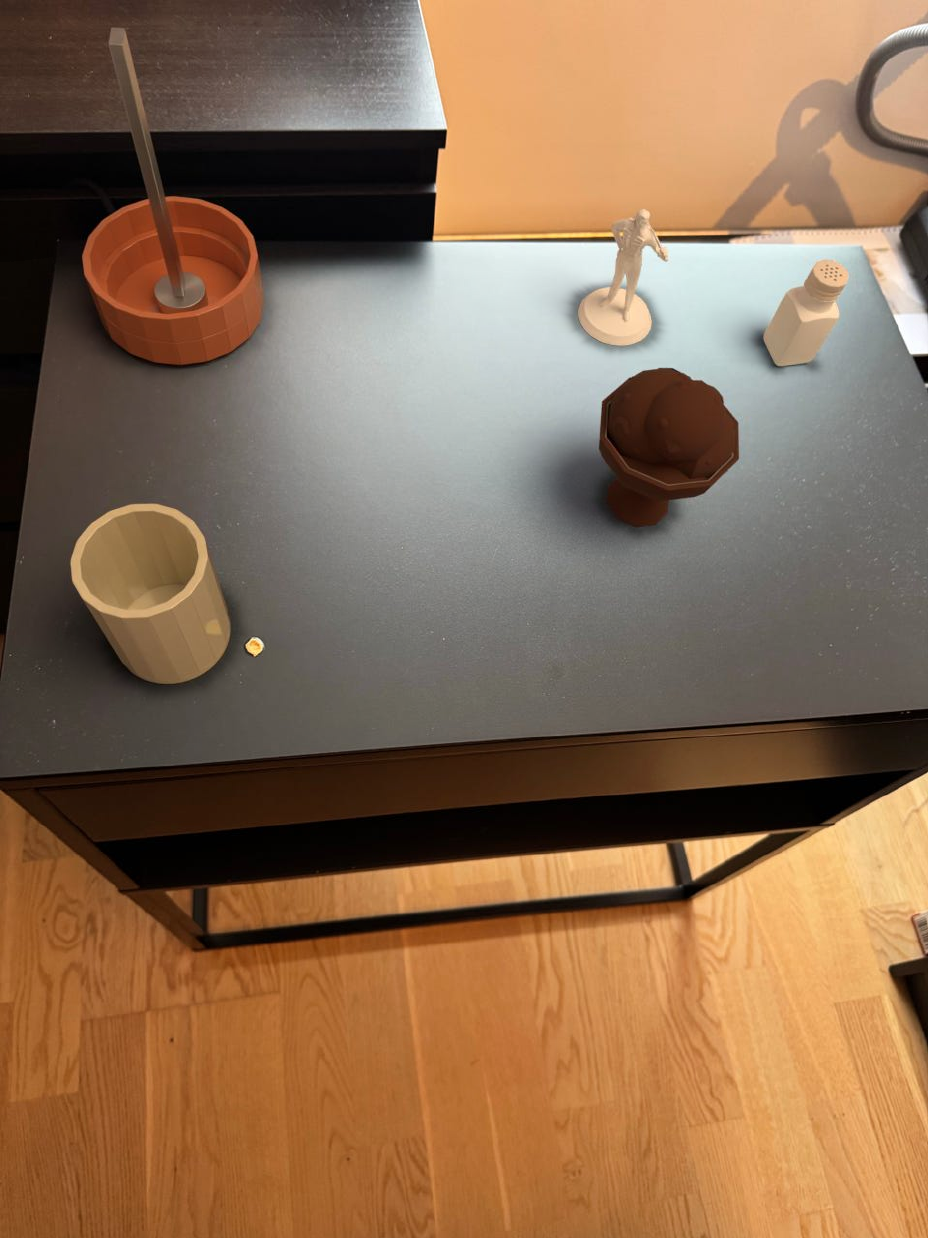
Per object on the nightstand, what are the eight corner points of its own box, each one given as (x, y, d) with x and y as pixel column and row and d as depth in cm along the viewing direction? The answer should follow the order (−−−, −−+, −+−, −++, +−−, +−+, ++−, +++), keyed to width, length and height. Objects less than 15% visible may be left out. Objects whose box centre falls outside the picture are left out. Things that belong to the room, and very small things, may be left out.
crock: (121, 695, 65) (76, 630, 55) (109, 593, 69) (65, 514, 59) (239, 671, 67) (216, 603, 57) (221, 573, 70) (197, 492, 60)
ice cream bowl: (724, 499, 78) (797, 381, 64) (646, 579, 73) (707, 470, 60) (629, 426, 80) (680, 298, 67) (548, 499, 76) (585, 378, 63)
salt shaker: (759, 337, 86) (801, 257, 78) (796, 332, 87) (842, 253, 79) (774, 369, 85) (819, 292, 76) (813, 364, 86) (861, 287, 77)
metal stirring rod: (155, 321, 80) (77, 54, 59) (159, 284, 82) (85, 13, 61) (206, 321, 80) (147, 57, 59) (209, 285, 82) (153, 16, 61)
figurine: (562, 315, 85) (589, 207, 75) (608, 278, 88) (641, 168, 77) (621, 358, 84) (658, 254, 73) (666, 318, 86) (708, 212, 76)
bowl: (110, 380, 77) (91, 329, 72) (94, 261, 83) (75, 205, 78) (276, 356, 80) (269, 306, 75) (250, 243, 86) (242, 188, 81)
